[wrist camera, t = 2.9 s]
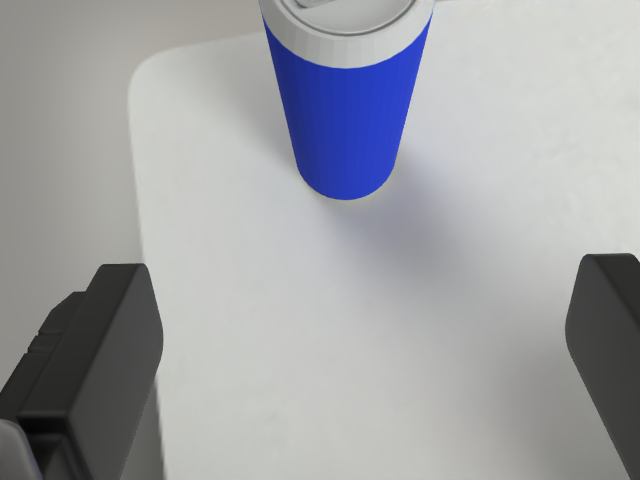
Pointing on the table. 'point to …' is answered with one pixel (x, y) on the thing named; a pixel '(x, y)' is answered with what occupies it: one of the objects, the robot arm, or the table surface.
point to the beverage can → (346, 84)
